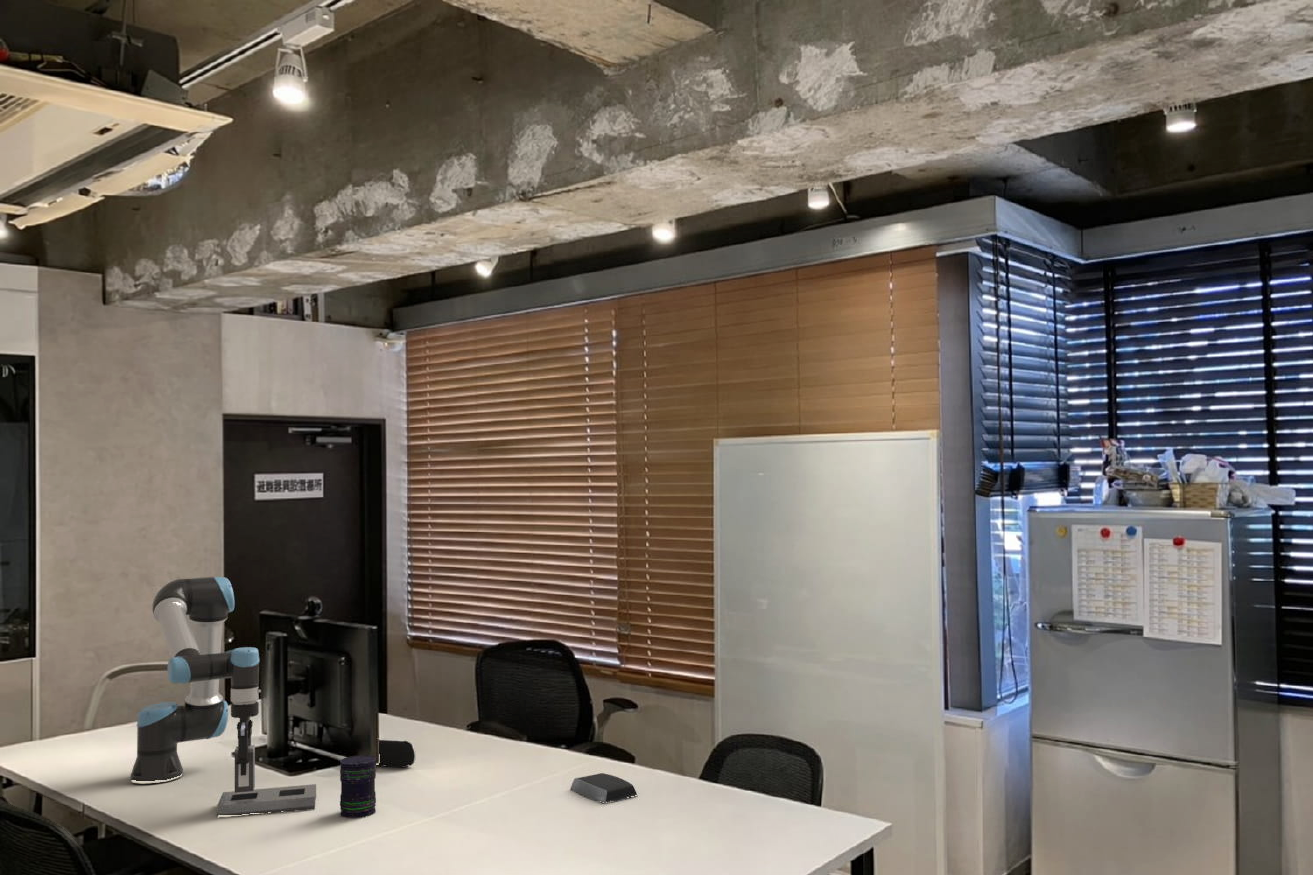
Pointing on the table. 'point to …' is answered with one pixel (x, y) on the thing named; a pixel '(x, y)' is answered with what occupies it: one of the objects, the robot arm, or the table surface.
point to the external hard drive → (603, 787)
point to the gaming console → (396, 752)
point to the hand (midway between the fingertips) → (244, 783)
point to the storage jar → (357, 786)
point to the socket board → (268, 800)
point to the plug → (251, 770)
